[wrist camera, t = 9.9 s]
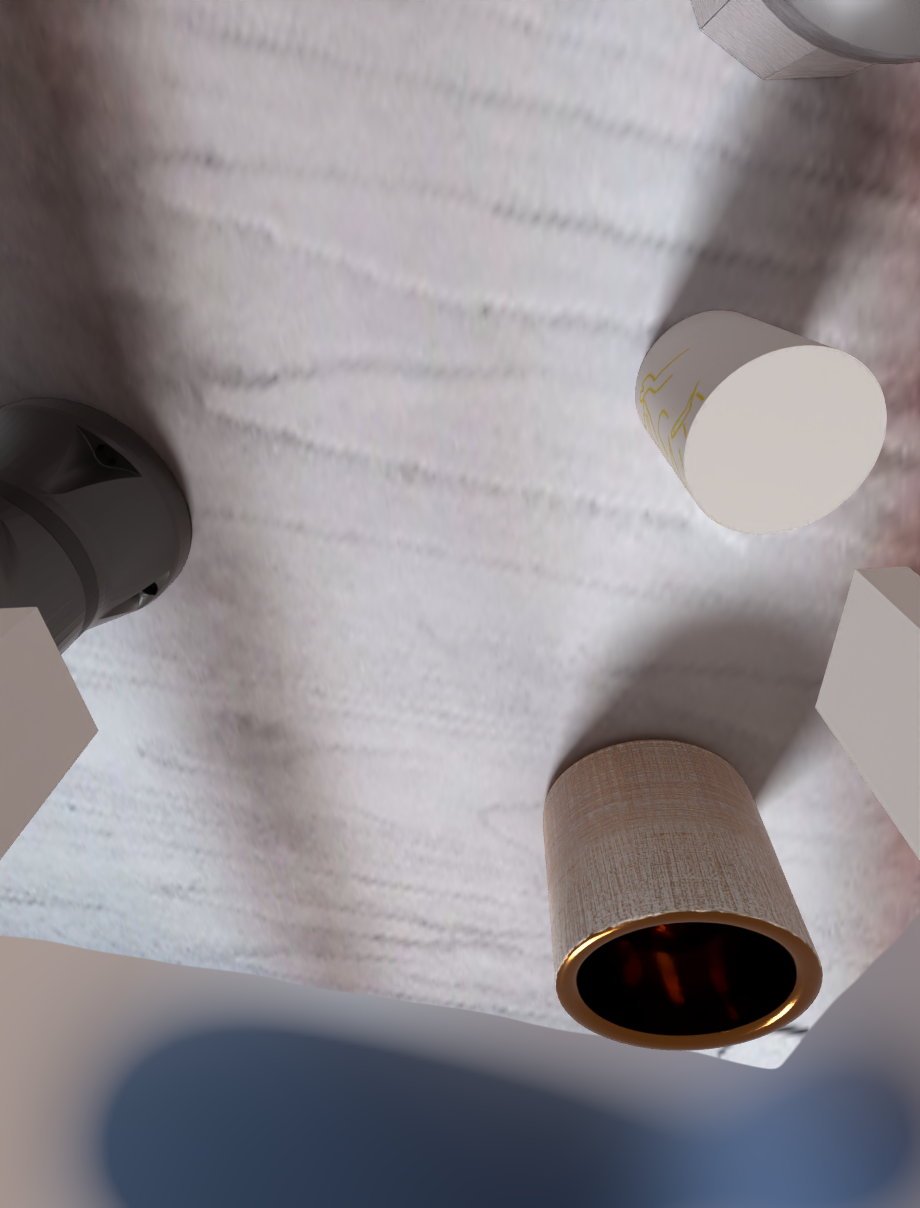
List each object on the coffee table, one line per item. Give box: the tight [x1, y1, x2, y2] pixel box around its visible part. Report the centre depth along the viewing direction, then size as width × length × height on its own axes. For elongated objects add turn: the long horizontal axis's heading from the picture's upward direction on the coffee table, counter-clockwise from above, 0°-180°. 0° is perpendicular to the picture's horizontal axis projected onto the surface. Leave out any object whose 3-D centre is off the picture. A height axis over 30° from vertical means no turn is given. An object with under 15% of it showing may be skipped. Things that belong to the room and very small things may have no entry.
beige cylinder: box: [635, 310, 887, 534], centre depth 32 cm, size 8×8×12 cm
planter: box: [543, 740, 823, 1051], centre depth 49 cm, size 18×18×16 cm
